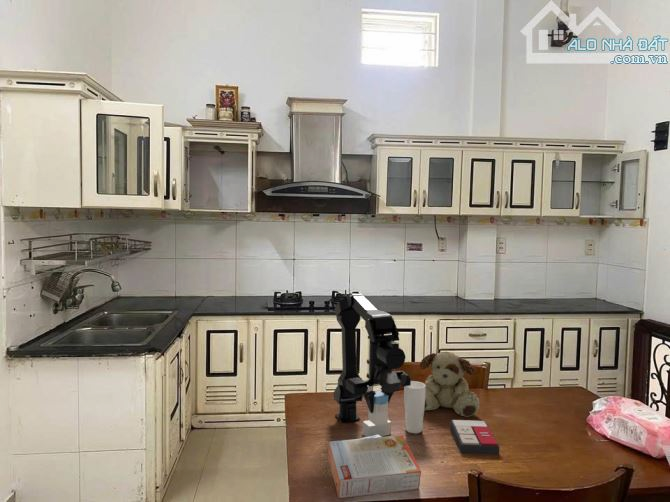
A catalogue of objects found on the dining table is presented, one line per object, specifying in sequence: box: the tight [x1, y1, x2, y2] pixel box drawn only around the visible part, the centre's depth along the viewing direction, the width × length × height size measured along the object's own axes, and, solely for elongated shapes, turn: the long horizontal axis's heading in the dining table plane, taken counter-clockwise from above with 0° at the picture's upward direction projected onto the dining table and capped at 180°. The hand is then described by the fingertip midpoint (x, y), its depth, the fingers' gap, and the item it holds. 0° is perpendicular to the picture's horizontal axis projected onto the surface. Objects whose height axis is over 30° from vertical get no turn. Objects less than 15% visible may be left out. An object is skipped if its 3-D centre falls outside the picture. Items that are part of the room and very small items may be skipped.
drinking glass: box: [403, 380, 426, 434], centre depth 144 cm, size 7×7×15 cm
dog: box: [418, 351, 480, 418], centre depth 164 cm, size 23×19×20 cm
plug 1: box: [367, 390, 389, 425], centre depth 129 cm, size 5×4×8 cm
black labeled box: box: [450, 419, 500, 456], centre depth 138 cm, size 11×4×15 cm
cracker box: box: [327, 434, 422, 499], centre depth 116 cm, size 14×6×21 cm
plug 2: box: [362, 419, 392, 437], centre depth 142 cm, size 4×8×4 cm, turn 116°
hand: (378, 411), depth 130 cm, fingers closed on plug 1, 4 cm apart
